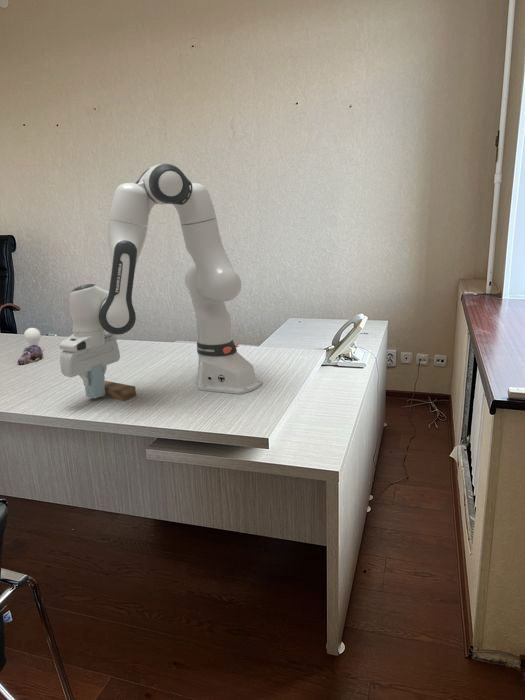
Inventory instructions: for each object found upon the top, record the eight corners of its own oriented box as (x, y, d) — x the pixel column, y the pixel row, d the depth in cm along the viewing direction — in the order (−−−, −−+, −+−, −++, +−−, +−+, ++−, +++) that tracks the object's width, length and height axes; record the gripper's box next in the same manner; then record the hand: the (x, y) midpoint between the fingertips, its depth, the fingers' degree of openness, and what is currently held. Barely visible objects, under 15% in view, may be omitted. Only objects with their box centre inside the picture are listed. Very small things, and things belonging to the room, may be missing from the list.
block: (105, 394, 164) (101, 362, 162) (95, 398, 161) (91, 366, 158) (96, 392, 166) (92, 361, 164) (86, 396, 163) (82, 364, 160)
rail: (136, 395, 166) (135, 386, 165) (124, 400, 162) (123, 391, 161) (100, 388, 174) (99, 379, 173) (88, 392, 170) (87, 383, 169)
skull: (25, 367, 200) (23, 351, 199) (9, 366, 203) (7, 350, 201) (47, 358, 211) (45, 344, 210) (32, 357, 214) (30, 342, 212)
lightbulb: (39, 355, 215) (35, 329, 212) (23, 356, 215) (20, 329, 213) (45, 351, 222) (42, 325, 219) (30, 352, 222) (27, 326, 219)
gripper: (107, 330, 169) (112, 372, 173) (54, 345, 152) (60, 391, 156) (122, 332, 166) (126, 374, 170) (69, 348, 149) (75, 394, 153)
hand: (94, 382), depth 163 cm, fingers closed on block, 4 cm apart
